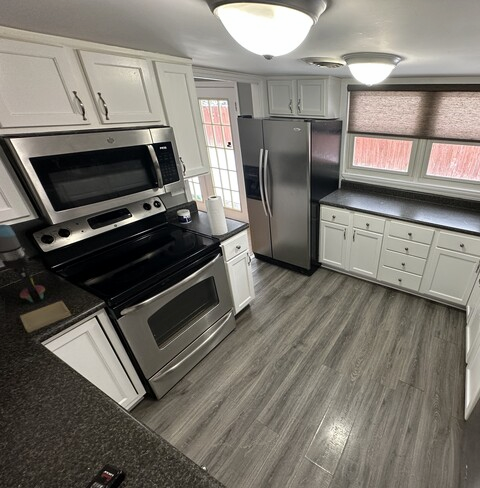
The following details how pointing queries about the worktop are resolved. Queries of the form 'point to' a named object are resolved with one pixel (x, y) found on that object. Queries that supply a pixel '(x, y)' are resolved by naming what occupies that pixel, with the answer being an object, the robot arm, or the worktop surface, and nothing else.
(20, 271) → the robot arm
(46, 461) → the worktop surface
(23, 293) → the cupcake
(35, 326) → the tray
